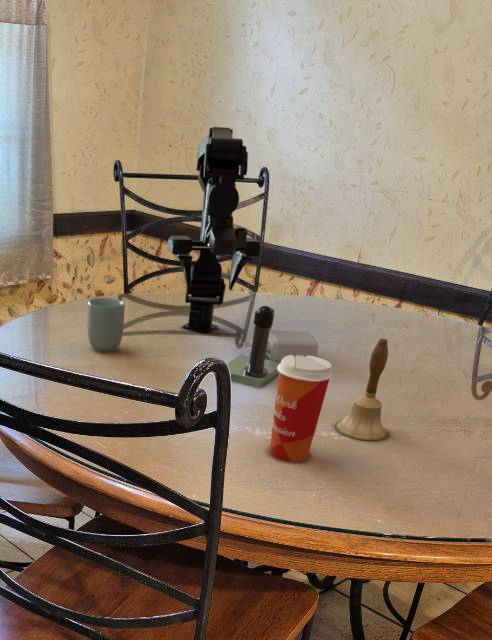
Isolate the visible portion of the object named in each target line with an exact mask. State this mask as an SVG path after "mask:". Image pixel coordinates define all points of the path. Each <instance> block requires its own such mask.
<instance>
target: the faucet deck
mask: <svg viewBox="0 0 492 640" xmlns="http://www.w3.org/2000/svg"><path fill="white" fill-rule="evenodd" d="M269 333H270V326H269V327H262V326H257V325H255V324H254V328H253V334H252V339H253V341H252V347H250V355H248V354H243V353H242V354H239V355H238V356H236V357H235V358H233V359H231V360H230V361H227V364H228V366H229V369H230V372H231V379H232V381H231V382H234V383H240V384H243V385H248V386H252V387H255V388H261V387H263V386H264V385H266V384H267V383H268V382H269V381H270V380H272V379H273V378H275V377H276V376H278V375H279V371H278V370H277V367H278V365H279V364H280V363H281V362H280V361H273V360H271V359H270V360H269V359H266V357H267V354H266V352H267V345H268V339H269Z"/></svg>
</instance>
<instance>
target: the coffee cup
mask: <svg viewBox="0 0 492 640" xmlns="http://www.w3.org/2000/svg"><path fill="white" fill-rule="evenodd" d="M279 363H280V364H279V365H278V367H277V370H278V371H279V373H278V374H277V385H276V391H275V392H276V393H275V401H274V409H273V418H272V427H271V436H270V446H269V447H270V448H269V453H270V454H271V456H272V457H274V458H276V459H278V460H280V461H284V462H290V463H299V462H303V461H305V460H307V458H308V456H309V453H310V450H311V447H312V444H313V440H314V436H315V433H316V429H317V425H318V422H319V418H320V415H321V412H322V408H323V405H324V400H325V397H326V393H327V390H328V387H329V382H330V380H331V379H332V378H333V377H334V373H333V371H332V364H331V363H330V362H329V361H328V360H327V359H324V358H321V357H318V356H316V357H314V356H308V355H307V357H304V355H296V356H293V355H289V356H285V357H284V358H283V359H282V361H281V362H279Z"/></svg>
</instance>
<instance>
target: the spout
mask: <svg viewBox="0 0 492 640" xmlns="http://www.w3.org/2000/svg"><path fill="white" fill-rule="evenodd" d="M253 317H254V318H253V325H254V326H255V325H257V326H262V327H269V326H270V331H272V327H273V324H274V318H275V309H274V308H272V307H270V306H268V305H262V306H260V307H259V308H258V309H257V310H255V311H254V316H253Z"/></svg>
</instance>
